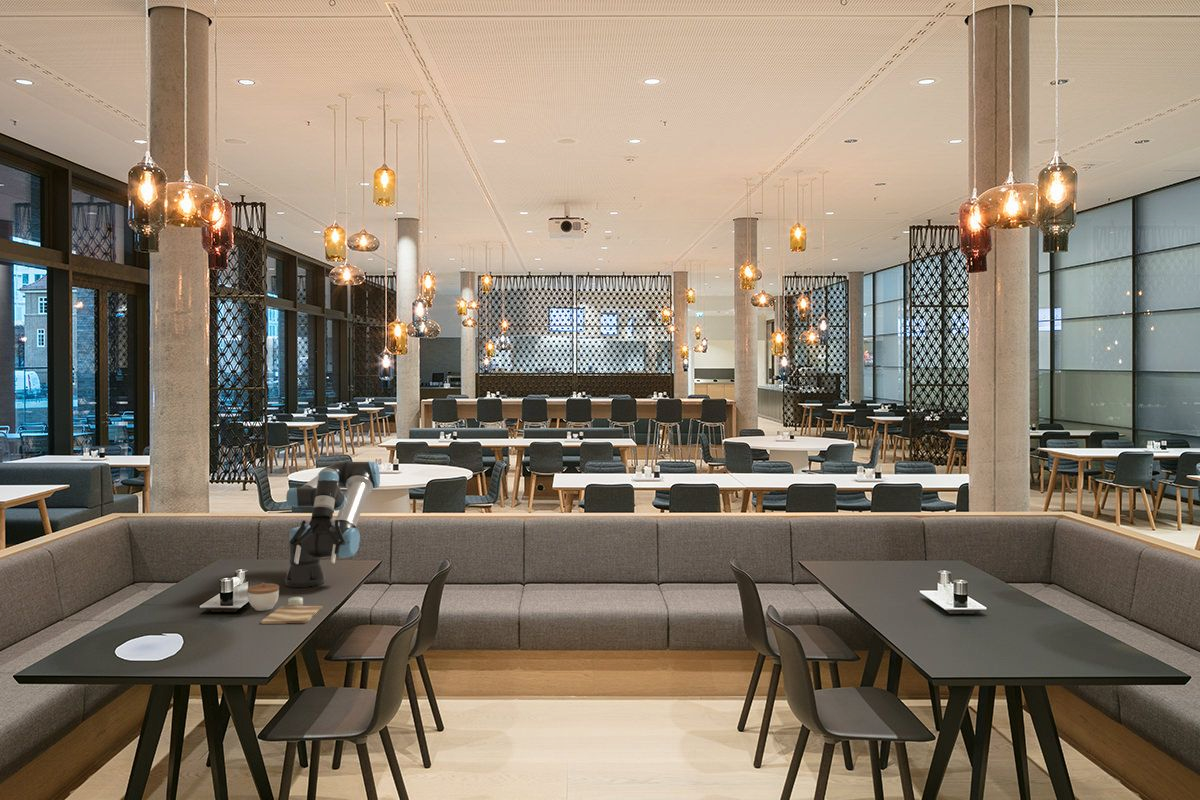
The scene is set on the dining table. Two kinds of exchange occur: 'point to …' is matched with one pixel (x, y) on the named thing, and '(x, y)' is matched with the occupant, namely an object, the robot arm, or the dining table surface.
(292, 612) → the wooden cutting board
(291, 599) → the sage dish
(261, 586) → the lidded jar
